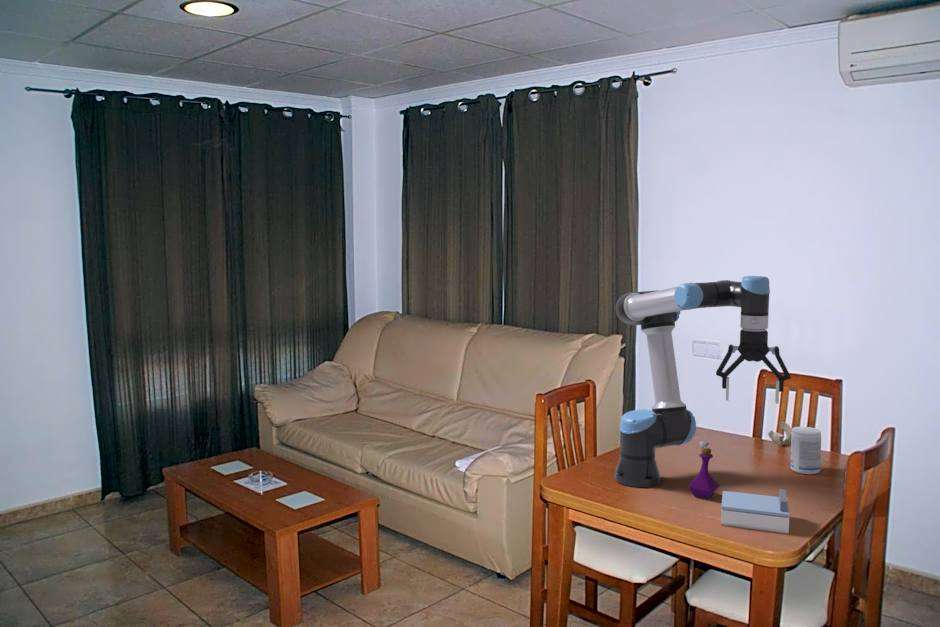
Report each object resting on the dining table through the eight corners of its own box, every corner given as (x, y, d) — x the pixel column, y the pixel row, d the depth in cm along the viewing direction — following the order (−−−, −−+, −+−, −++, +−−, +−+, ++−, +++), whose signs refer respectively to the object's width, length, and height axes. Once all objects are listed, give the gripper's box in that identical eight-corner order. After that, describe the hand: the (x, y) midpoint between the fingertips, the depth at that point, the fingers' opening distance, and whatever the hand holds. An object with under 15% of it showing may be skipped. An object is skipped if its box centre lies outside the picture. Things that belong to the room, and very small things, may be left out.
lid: (721, 508, 208) (721, 496, 207) (722, 493, 220) (723, 481, 219) (789, 517, 201) (789, 504, 201) (787, 500, 213) (787, 488, 213)
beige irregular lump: (766, 442, 281) (770, 417, 284) (766, 446, 286) (770, 422, 289) (790, 446, 277) (793, 421, 280) (790, 450, 282) (793, 426, 286)
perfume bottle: (696, 489, 236) (697, 436, 234) (719, 494, 231) (720, 440, 229) (687, 496, 230) (688, 442, 228) (710, 502, 225) (712, 446, 223)
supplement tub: (825, 471, 251) (827, 430, 249) (810, 477, 246) (811, 435, 244) (799, 464, 259) (801, 424, 257) (784, 469, 254) (785, 429, 252)
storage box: (720, 524, 208) (721, 509, 208) (722, 508, 220) (722, 494, 220) (788, 533, 202) (789, 518, 201) (786, 516, 214) (786, 501, 213)
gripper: (708, 329, 210) (706, 401, 212) (802, 332, 201) (799, 406, 204) (709, 326, 217) (707, 395, 219) (799, 329, 208) (797, 400, 211)
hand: (751, 401), depth 211 cm, fingers open, 13 cm apart
